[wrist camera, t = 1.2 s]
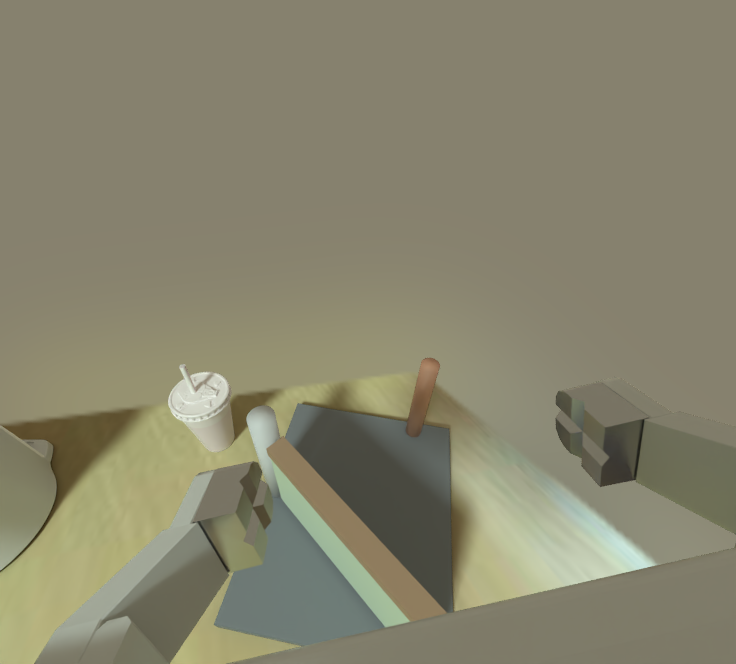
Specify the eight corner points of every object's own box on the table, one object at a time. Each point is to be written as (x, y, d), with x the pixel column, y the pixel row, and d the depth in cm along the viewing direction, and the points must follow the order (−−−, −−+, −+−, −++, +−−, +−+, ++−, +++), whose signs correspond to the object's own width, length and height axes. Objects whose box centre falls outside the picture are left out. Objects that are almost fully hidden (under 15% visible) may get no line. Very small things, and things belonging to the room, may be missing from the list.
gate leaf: (280, 500, 37) (266, 448, 30) (293, 488, 38) (283, 435, 31) (427, 682, 28) (459, 672, 20) (440, 660, 29) (475, 643, 21)
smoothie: (203, 416, 47) (169, 343, 37) (251, 418, 47) (228, 345, 38) (184, 461, 42) (140, 390, 33) (237, 463, 42) (208, 392, 33)
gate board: (217, 626, 31) (157, 586, 21) (298, 408, 49) (287, 328, 38) (451, 679, 29) (510, 663, 19) (447, 433, 47) (477, 357, 37)
